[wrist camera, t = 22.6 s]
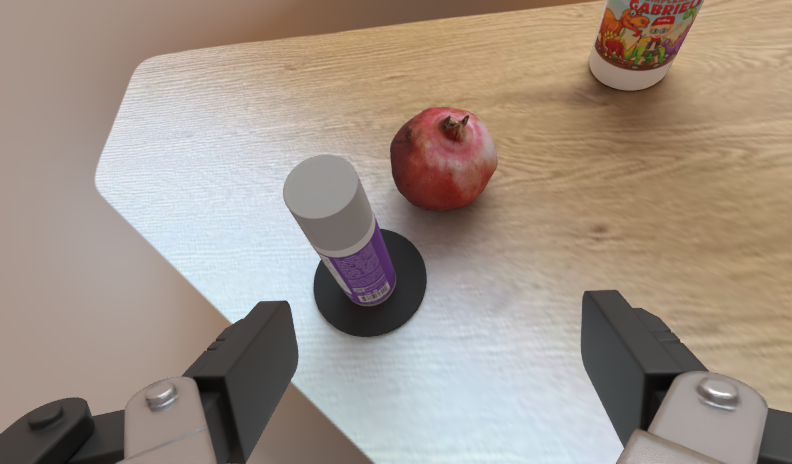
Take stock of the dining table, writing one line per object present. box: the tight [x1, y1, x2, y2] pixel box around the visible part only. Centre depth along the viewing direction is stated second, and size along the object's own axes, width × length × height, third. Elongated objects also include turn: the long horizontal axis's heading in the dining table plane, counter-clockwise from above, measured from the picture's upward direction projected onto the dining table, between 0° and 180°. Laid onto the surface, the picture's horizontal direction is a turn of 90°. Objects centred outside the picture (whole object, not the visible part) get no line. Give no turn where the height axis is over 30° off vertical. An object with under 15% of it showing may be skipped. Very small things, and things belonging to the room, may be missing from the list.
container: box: [283, 155, 396, 306], centre depth 32 cm, size 5×5×15 cm
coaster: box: [314, 229, 426, 337], centre depth 39 cm, size 10×10×1 cm
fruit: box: [390, 107, 498, 211], centre depth 38 cm, size 9×10×10 cm
